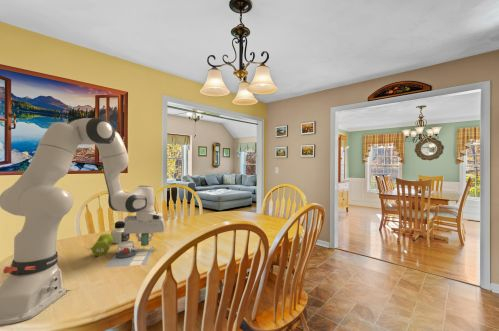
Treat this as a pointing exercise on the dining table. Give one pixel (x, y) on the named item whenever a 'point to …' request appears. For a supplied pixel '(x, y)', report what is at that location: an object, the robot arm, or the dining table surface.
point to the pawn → (144, 239)
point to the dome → (125, 245)
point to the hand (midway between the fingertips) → (144, 240)
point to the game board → (131, 257)
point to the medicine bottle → (119, 233)
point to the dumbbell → (102, 244)
